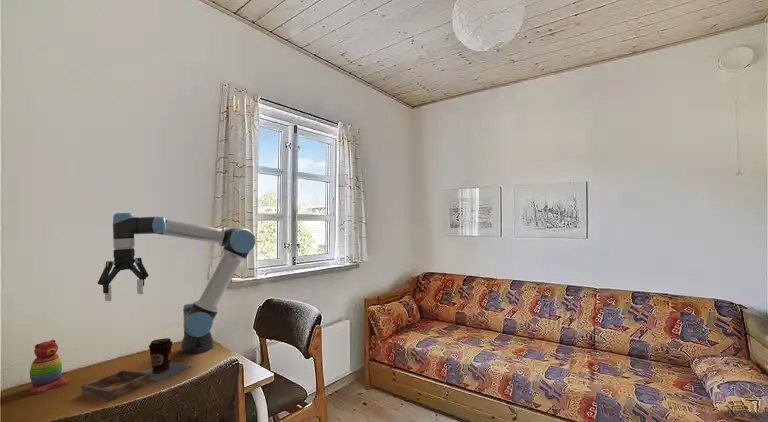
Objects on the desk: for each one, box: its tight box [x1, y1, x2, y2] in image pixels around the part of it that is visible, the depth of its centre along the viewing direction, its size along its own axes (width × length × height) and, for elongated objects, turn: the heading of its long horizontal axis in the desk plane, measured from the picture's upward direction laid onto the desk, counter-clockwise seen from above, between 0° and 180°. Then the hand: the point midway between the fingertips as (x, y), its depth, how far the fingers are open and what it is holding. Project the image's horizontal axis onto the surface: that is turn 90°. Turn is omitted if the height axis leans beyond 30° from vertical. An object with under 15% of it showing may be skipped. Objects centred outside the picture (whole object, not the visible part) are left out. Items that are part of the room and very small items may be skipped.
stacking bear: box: [29, 339, 69, 395], centre depth 143 cm, size 11×10×18 cm
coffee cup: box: [148, 337, 173, 374], centre depth 154 cm, size 9×8×13 cm
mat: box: [142, 361, 192, 383], centre depth 154 cm, size 16×14×1 cm
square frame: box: [80, 369, 151, 402], centre depth 139 cm, size 15×15×4 cm
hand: (124, 297), depth 157 cm, fingers open, 13 cm apart
